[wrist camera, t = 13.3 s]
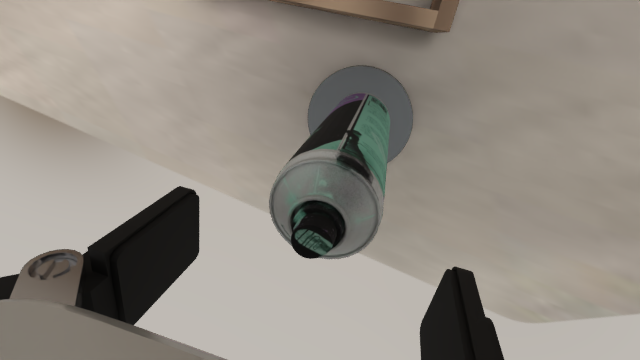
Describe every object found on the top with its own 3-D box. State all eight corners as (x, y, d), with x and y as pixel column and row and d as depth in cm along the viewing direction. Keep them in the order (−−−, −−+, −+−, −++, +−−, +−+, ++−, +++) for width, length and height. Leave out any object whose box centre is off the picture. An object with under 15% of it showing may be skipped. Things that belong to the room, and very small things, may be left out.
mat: (388, 45, 28) (388, 45, 27) (427, 145, 31) (428, 148, 30) (293, 93, 32) (290, 95, 31) (335, 179, 35) (334, 183, 34)
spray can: (336, 87, 30) (245, 167, 12) (395, 96, 29) (393, 196, 11) (329, 143, 32) (244, 279, 14) (384, 153, 31) (366, 310, 13)
